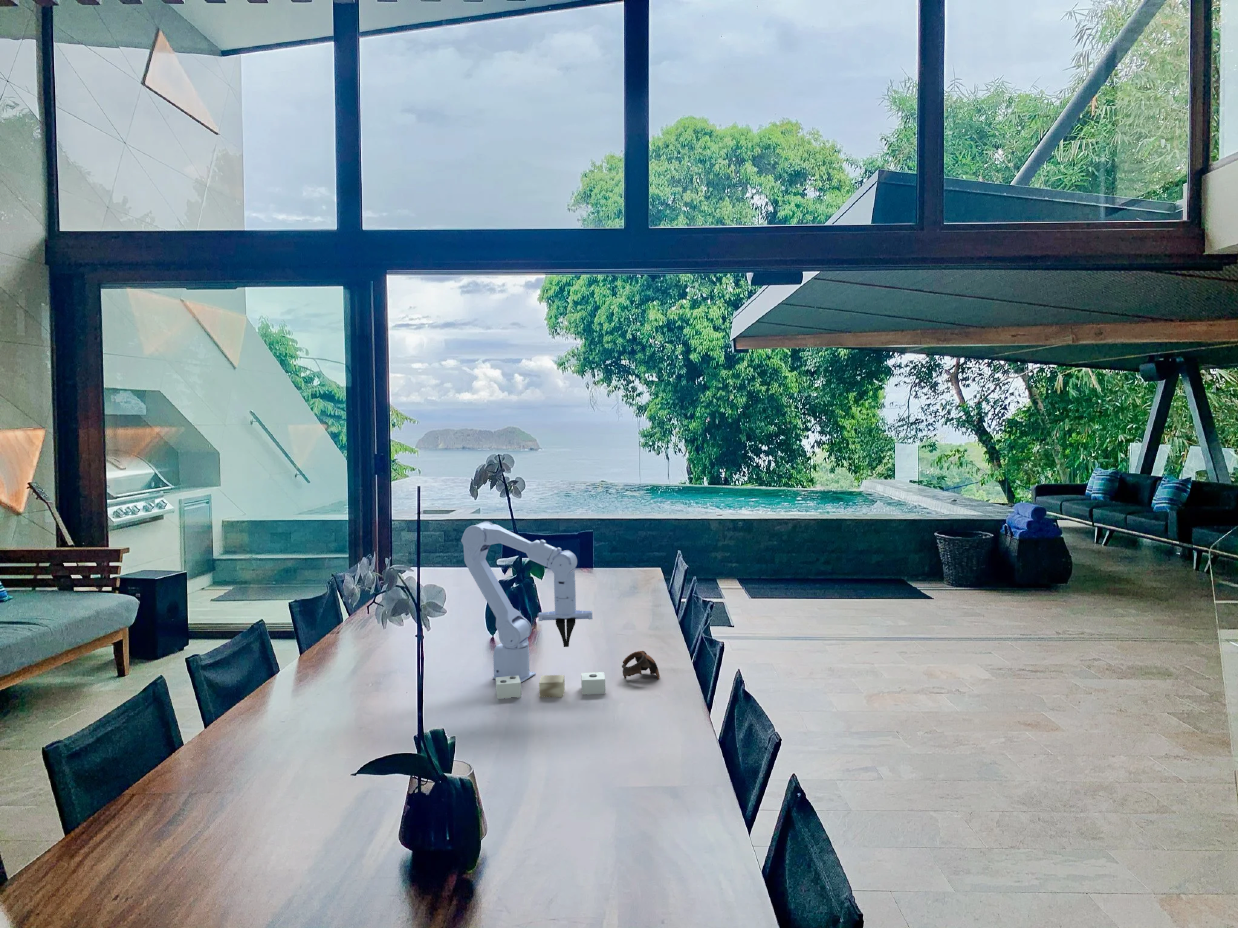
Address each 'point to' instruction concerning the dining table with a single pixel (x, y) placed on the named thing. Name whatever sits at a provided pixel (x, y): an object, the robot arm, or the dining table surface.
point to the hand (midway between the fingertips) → (566, 645)
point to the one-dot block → (593, 683)
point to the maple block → (551, 686)
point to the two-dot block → (508, 687)
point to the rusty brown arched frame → (639, 664)
